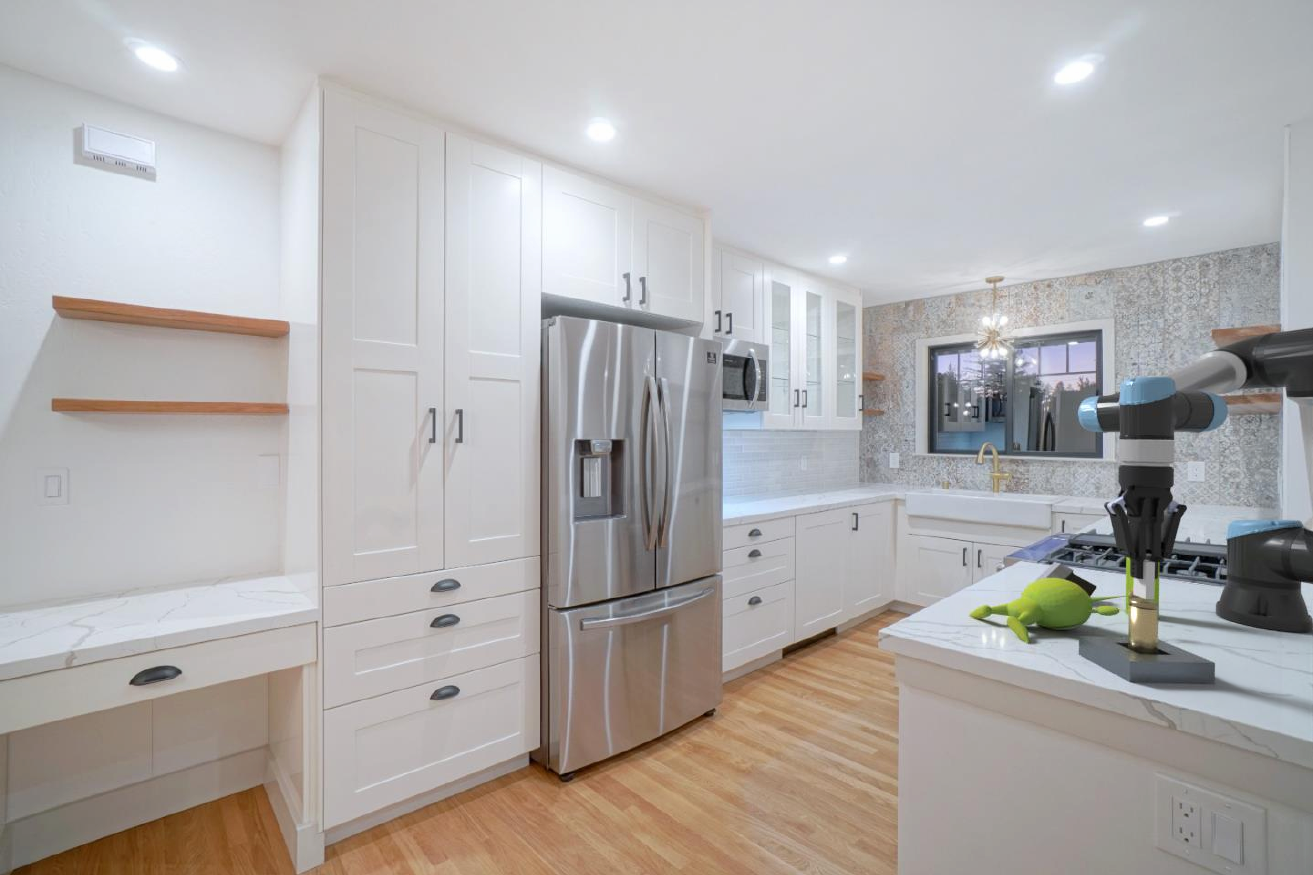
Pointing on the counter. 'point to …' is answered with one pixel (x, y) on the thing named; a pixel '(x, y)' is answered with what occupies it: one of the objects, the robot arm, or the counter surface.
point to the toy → (1049, 607)
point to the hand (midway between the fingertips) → (1143, 596)
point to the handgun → (1067, 577)
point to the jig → (1147, 661)
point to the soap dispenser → (1131, 581)
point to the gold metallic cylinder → (1143, 626)
